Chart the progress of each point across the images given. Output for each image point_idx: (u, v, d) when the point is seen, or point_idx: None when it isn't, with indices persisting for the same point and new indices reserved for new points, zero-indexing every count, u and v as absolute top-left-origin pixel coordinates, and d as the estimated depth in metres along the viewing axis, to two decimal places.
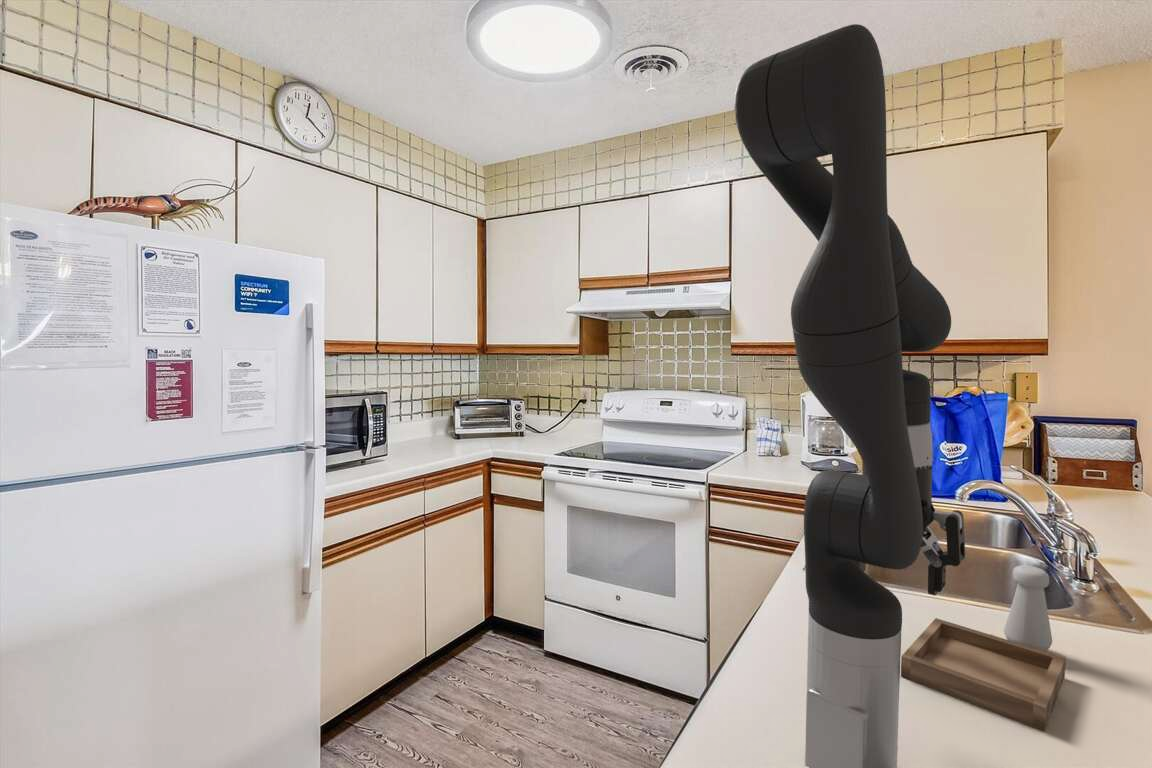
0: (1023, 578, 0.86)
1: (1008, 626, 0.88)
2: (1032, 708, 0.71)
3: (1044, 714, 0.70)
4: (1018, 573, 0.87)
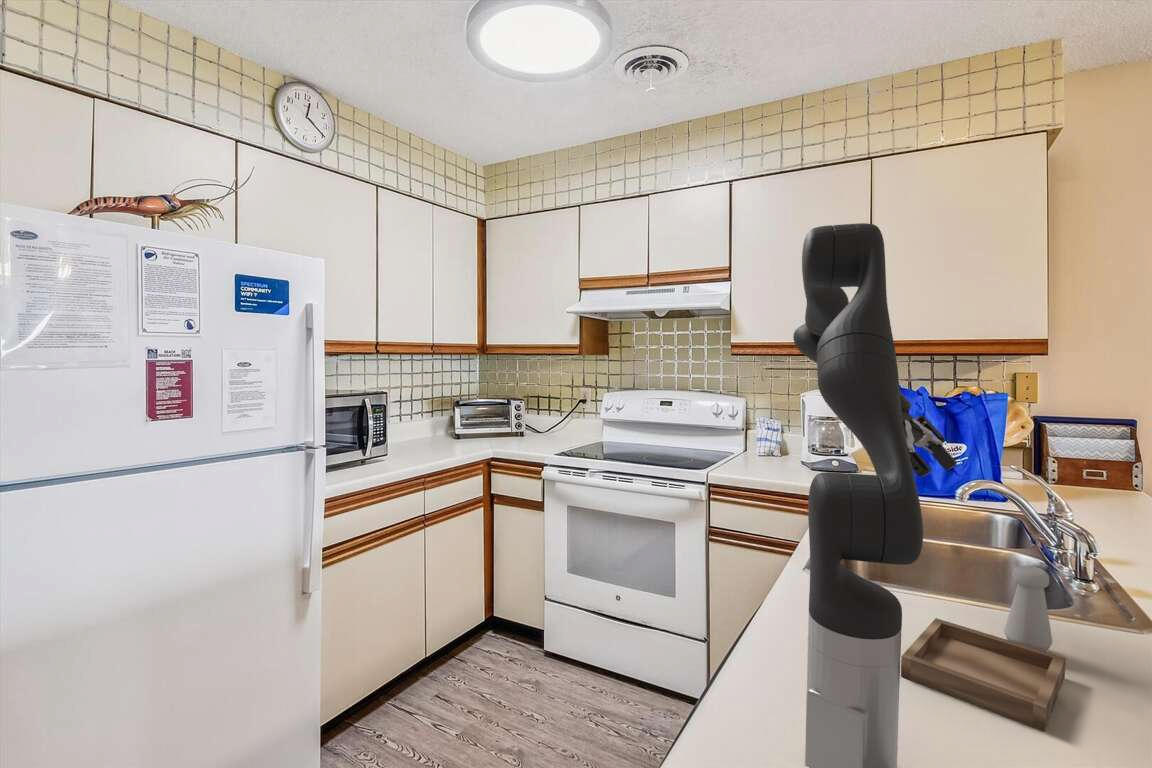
0: (1023, 578, 0.86)
1: (1008, 626, 0.88)
2: (1032, 708, 0.71)
3: (1044, 714, 0.70)
4: (1018, 573, 0.87)
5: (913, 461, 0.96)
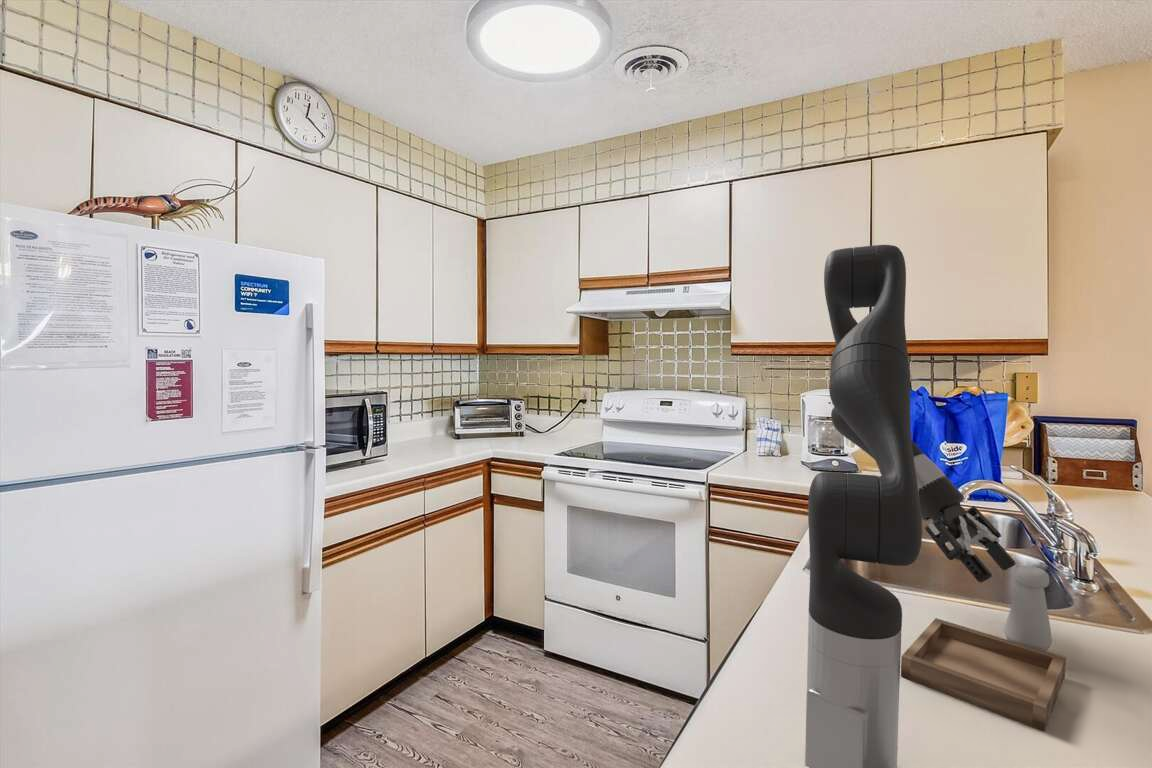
0: (1023, 578, 0.86)
1: (1008, 626, 0.88)
2: (1032, 708, 0.71)
3: (1044, 714, 0.70)
4: (1018, 573, 0.87)
5: (972, 565, 0.89)
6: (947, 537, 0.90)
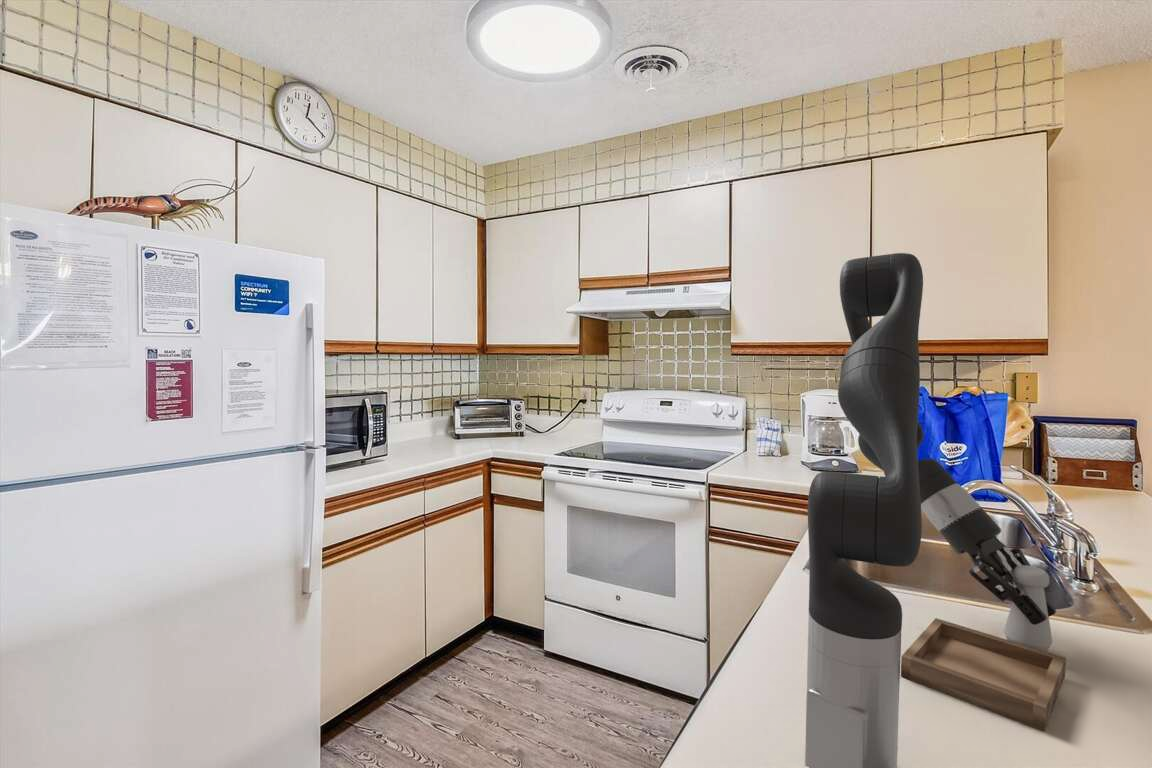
0: (1023, 578, 0.86)
1: (1008, 626, 0.88)
2: (1032, 708, 0.71)
3: (1044, 714, 0.70)
4: (1018, 573, 0.87)
5: (1025, 606, 0.85)
6: (998, 581, 0.86)
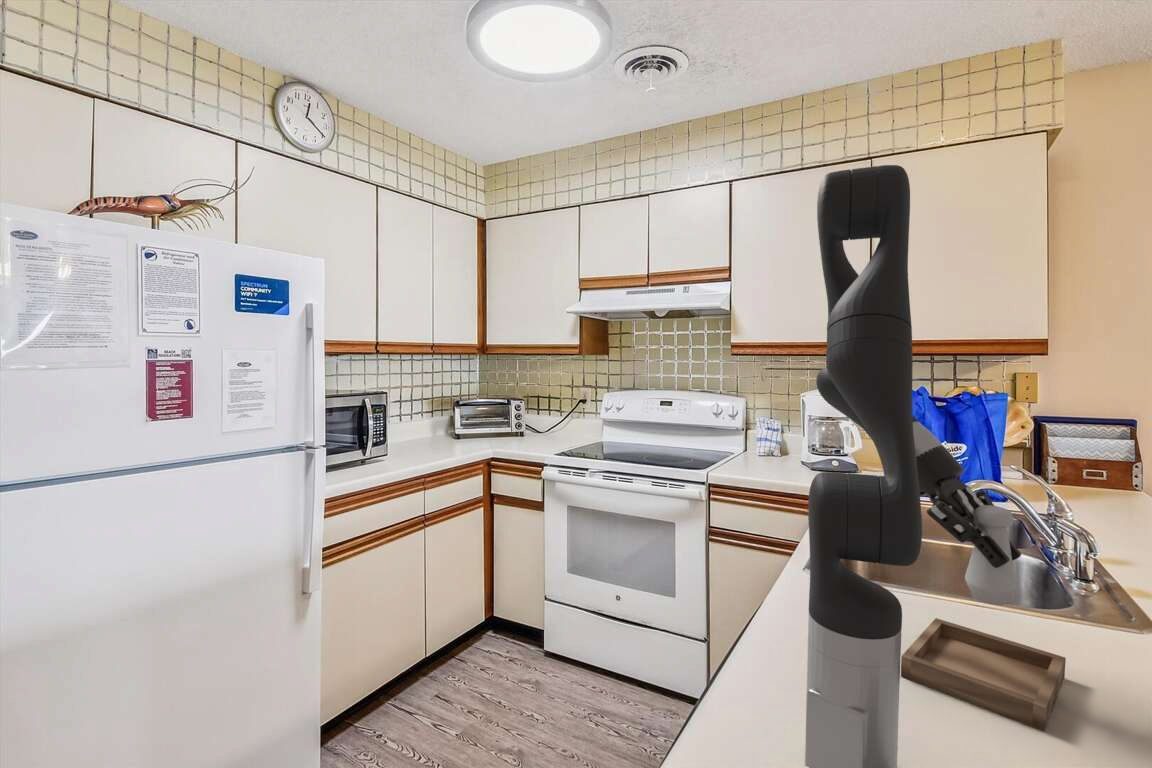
0: (984, 517, 0.78)
1: (968, 571, 0.80)
2: (1032, 708, 0.71)
3: (1044, 714, 0.70)
4: (980, 512, 0.79)
5: (986, 548, 0.78)
6: (957, 520, 0.78)
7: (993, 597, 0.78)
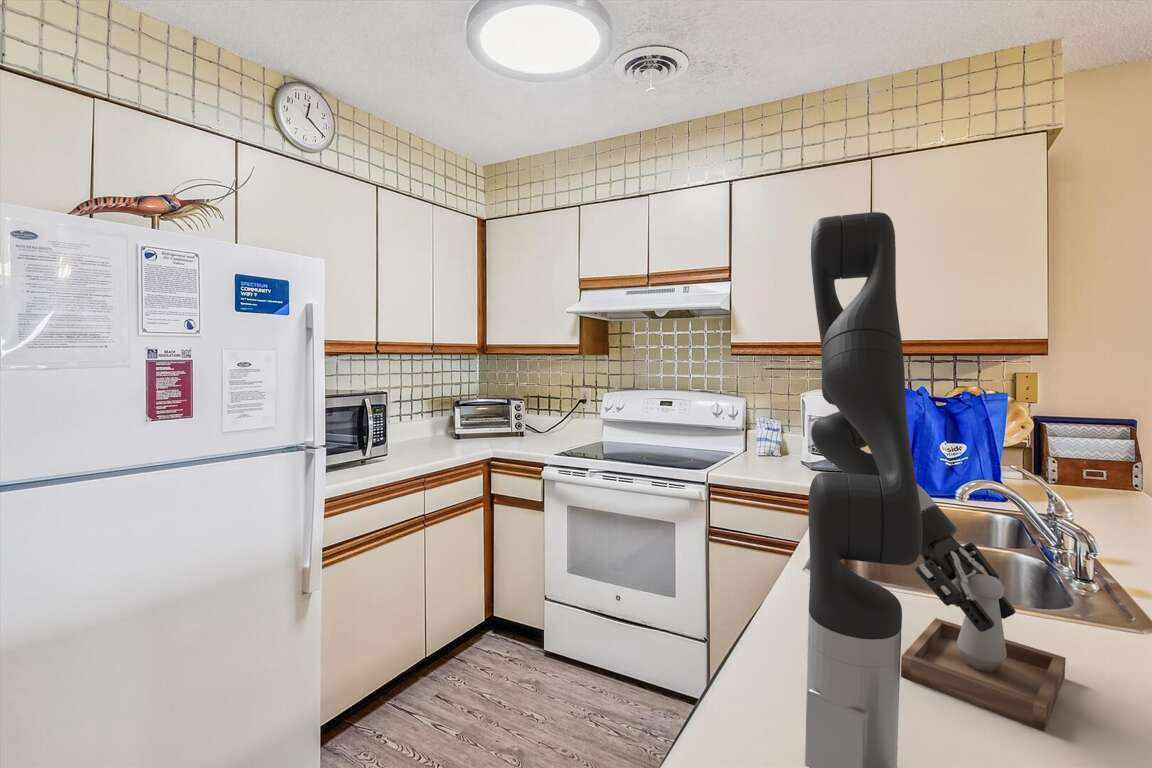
0: (976, 588, 0.80)
1: (960, 638, 0.82)
2: (1032, 708, 0.71)
3: (1044, 714, 0.70)
4: (972, 583, 0.81)
5: (971, 612, 0.78)
6: (942, 580, 0.79)
7: (984, 665, 0.80)
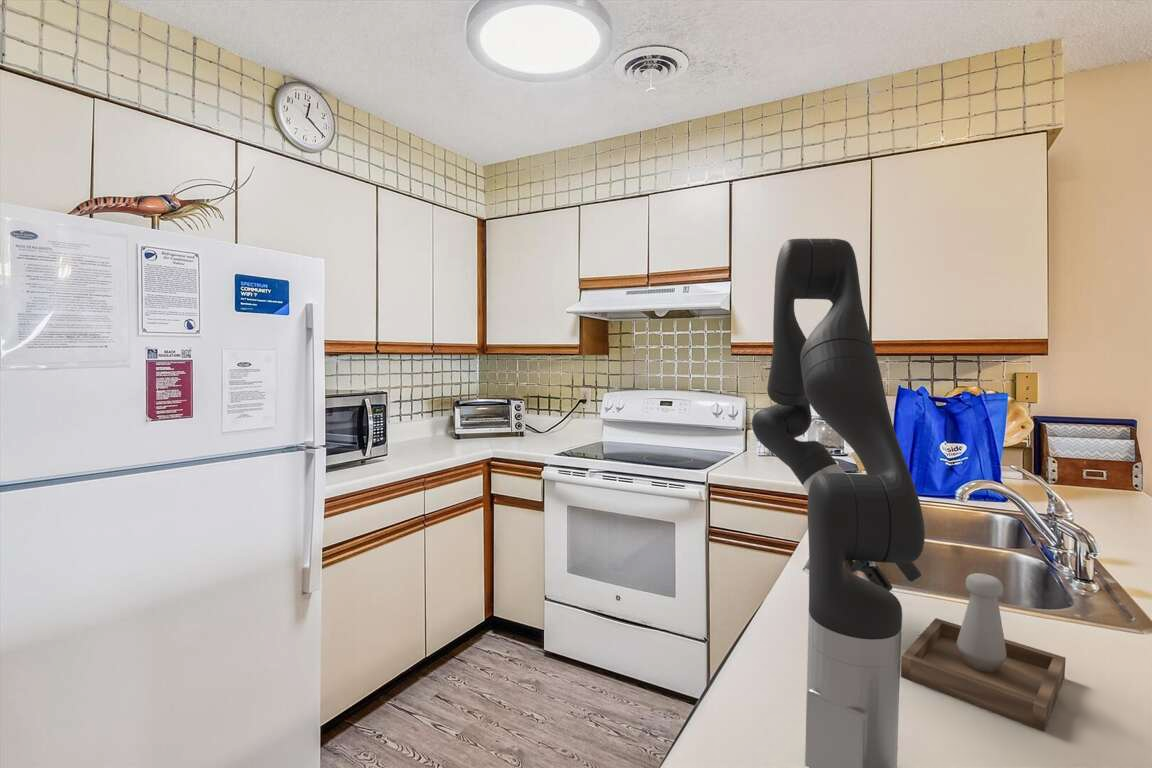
0: (975, 587, 0.81)
1: (960, 637, 0.83)
2: (1032, 708, 0.71)
3: (1044, 714, 0.70)
4: (971, 582, 0.81)
5: (873, 577, 0.88)
6: None
7: (984, 665, 0.80)
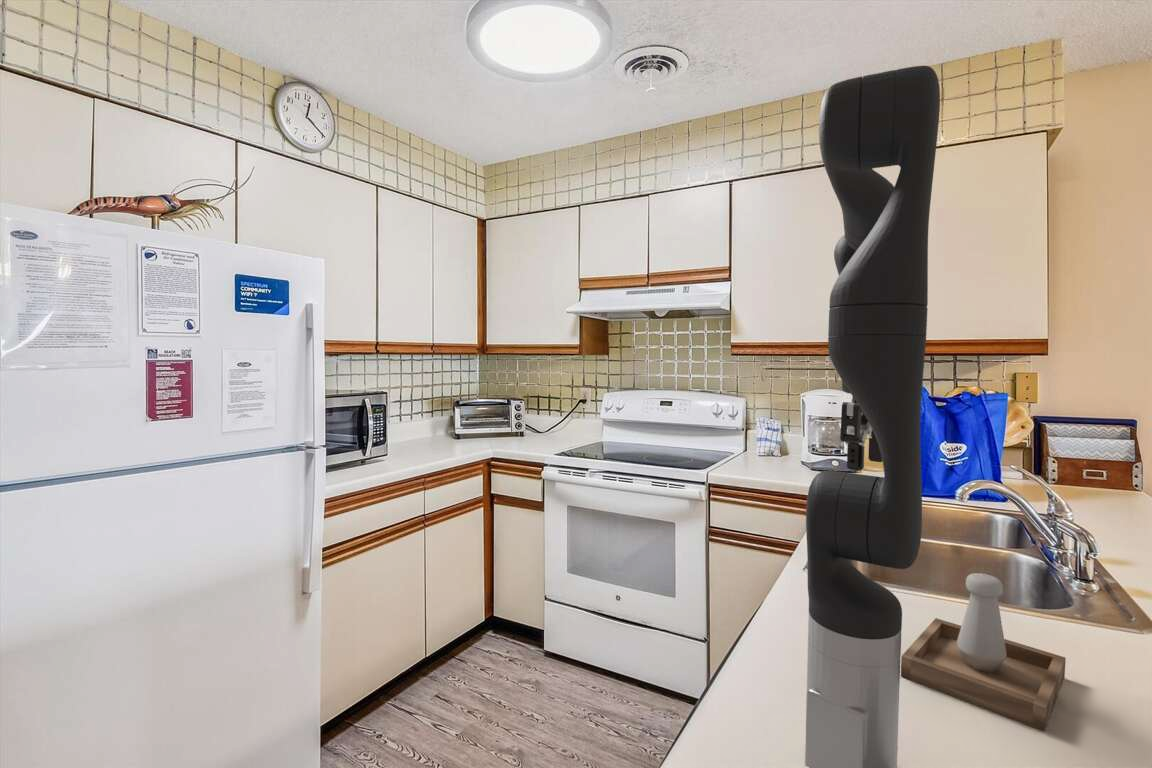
0: (975, 587, 0.81)
1: (960, 637, 0.83)
2: (1032, 708, 0.71)
3: (1044, 714, 0.70)
4: (971, 582, 0.81)
5: (854, 454, 0.86)
6: (856, 423, 0.84)
7: (984, 665, 0.80)
